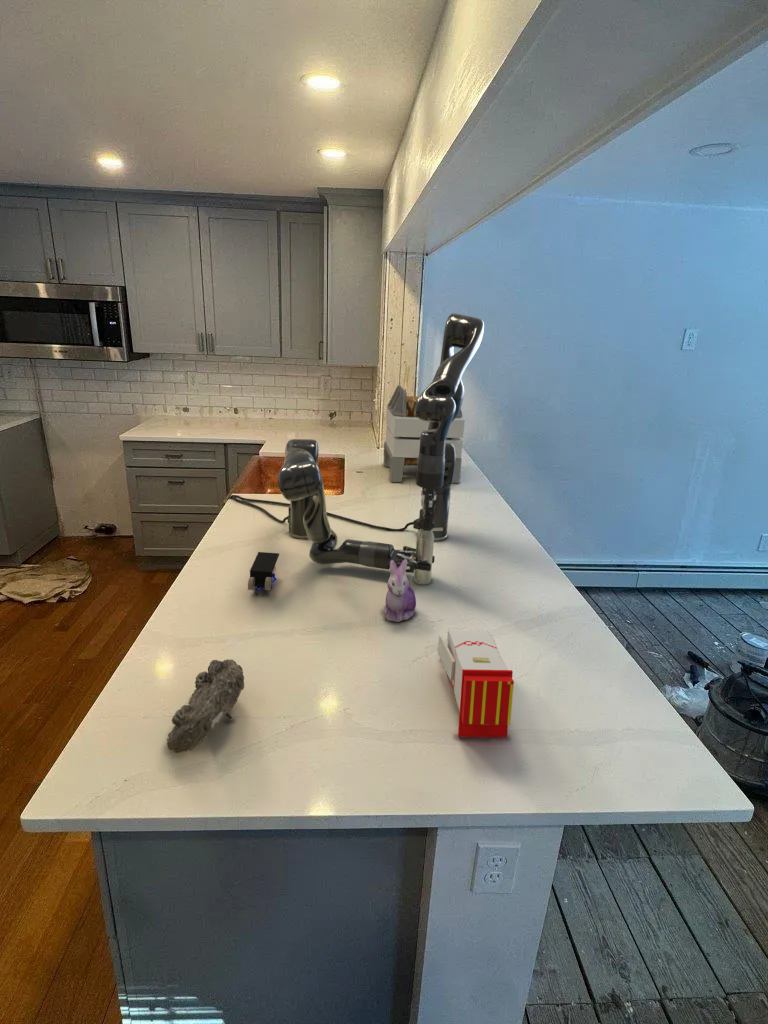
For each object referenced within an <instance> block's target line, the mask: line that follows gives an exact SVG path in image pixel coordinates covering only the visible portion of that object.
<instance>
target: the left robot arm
mask: <svg viewBox="0 0 768 1024" xmlns="http://www.w3.org/2000/svg"><path fill="white" fill-rule="evenodd" d="M285 444H286V445H285V448H284V460H283V463H282V466H281V467H280V469H279V471H278V476H277V482H278V483H277V484H278V489H279V492H280V494H281V495H282V497H283V498H284V499H285V500H287V501H290V503H289V504H290V506H288V515H287V516H286V517H285V516H284V518H283V520H282V519H279V518H278V517H276V516H274V515H273V514H271V513H270V512H269V511H268V510H266V509H265V508H263V507H261V506H259V505H257V504H254V503H253V502H250V501H244V500H241V499H239V498H236V497H235V496H233V498H232V499H234V501H236V502H237V503H242V504H245V505H248V506H251V507H253V508H256V509H258V510H259V511H261V512H263V513H264V514H266V515H267V516H268V517H269V518H271V519H273V520H274V521H276V522H277V523H280V524H284V523H286V521H287V524H288V533H290V536H291V537H293V538H294V539H301V540H307V539H308V540H309V541H310V542H312V543H311V547H310V549H309V553H308V557H309V560H311V561H312V562H313V563H314V564H317V565H319V566H329V565H336V564H346V563H347V564H354V565H360V566H364V567H368V568H374V569H380V570H388V571H389V570H390V561H391V560H393V561H394V562H395V564H396V566H397V567H399V566H400V565H401V563H402V561H403V560H404V559H407V567H406V571H405V573H410V574H414V571H415V570H417V569H418V570H425V571H430V570H431V571H432V569H431V563H426V562H417V561H415V556H416V547H415V548H414V547H411V546H406V545H404V546H402V549H395V547H394V545H393V544H391V543H385V542H378V541H369V540H368V541H366V540H365V541H364V540H357V539H345V540H344V541H343V542H342V544H341V545H340V546H339V547H338V548H337V545H338V535H337V533H336V532H335V531H334V530H333V529H332V528H331V525H330V522H329V518H328V515H327V513H326V512H327V503H326V502H327V501H326V493H325V485H324V480H323V476H322V473H321V469H320V467H319V456H320V455H319V454H320V453H319V452H320V451H319V450H320V449H319V443H318V441H317V440H316V439H314V438H313V439H312V438H311V439H310V438H307V439H305V438H304V439H302V438H292V439H290V440H288V441H287V443H285ZM232 495H233V494H231V495H230V496H232ZM435 559H436V557H435V555H433V557H432V564H434V563H435V561H436V560H435Z"/></svg>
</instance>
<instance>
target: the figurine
mask: <svg viewBox="0 0 768 1024" xmlns="http://www.w3.org/2000/svg"><path fill="white" fill-rule="evenodd" d="M406 567H407V559H404V560H403V561H402V563H401V565H400V566H399V567H397V566H396V564H395V562H394V561H393V560H391V561H390V569H389V570H390V576H389V578H388V579H387V589H388V591H387V592H386V594H385V595H386V596H385V607H384V615H385V616H386V620H387V621H391V622H395V623H400V622H402V621H406V620H409V619H410V618H411V617H413V616H414V615H415V610H416V606H417V597H416V593H415V591H414V590H413V587H411V586H410V582H409V579H408V577H407V574H406V572H405V571H406Z"/></svg>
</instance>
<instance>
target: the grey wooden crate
mask: <svg viewBox="0 0 768 1024" xmlns="http://www.w3.org/2000/svg"><path fill="white" fill-rule="evenodd" d="M407 394H408V393H407V390H406V389H404V388H403V387H402V385H399V384H398V385H397V386H396V388H395V390H394V392H393V394H392V395H391V398H390V400H389V402H388V404H387V405H386V413H385V414H386V415H385V423H386V428H385V438H384V442H383V466H384V467H388V468H389V475H388V476H389V477H388V478H389V480H390V482H391V483H402V482H403V475H404V469H405V466H406V467H407V466H411V467H412V466H413V467H415V466H416V467H417V461H418V456H419V447H420V435H421V433H422V432H423V431H425V430H428V425H429V421H422V420H420V419H419V418H418V417H417V416H416V413H415V405H416V402H417V399H418V398H419V396H415V395H414V396H413V395H412V396H411V395H407ZM464 429H465V419H464V418H463V411H462V409H461V410H460V412H459V414H458V416H457V417H456V418H455V419H454V421H453V422H452V423H451V425H450V427H449V431H448V434H447V438H446V443H450V444H452V445H453V446H454V448H455V453H456V460H455V467H454V474H453V482H452V484H455V483H456V484H459V483H461V472H462V461H463V460H462V453H463V442H464V441H463V440H462V439H463V438H464V431H465V430H464Z"/></svg>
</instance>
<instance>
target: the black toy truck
mask: <svg viewBox="0 0 768 1024" xmlns="http://www.w3.org/2000/svg"><path fill="white" fill-rule="evenodd" d="M279 556H280V553H277V552H265V551H258V552H257V554H256V556H255V558H254V561H253V562H252V565H251V568H250V569H249V578H248V580H247V590H249V591H253V594H254V595H257V594H258V592H259V590H264V591H265V592H264V595H265V596H266V595H268V593H269V591H271V589H272V588H273V584H274V583H275V582H276V581H277V577H276V573H277V567H276V565H277V562H278V559H279Z"/></svg>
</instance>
